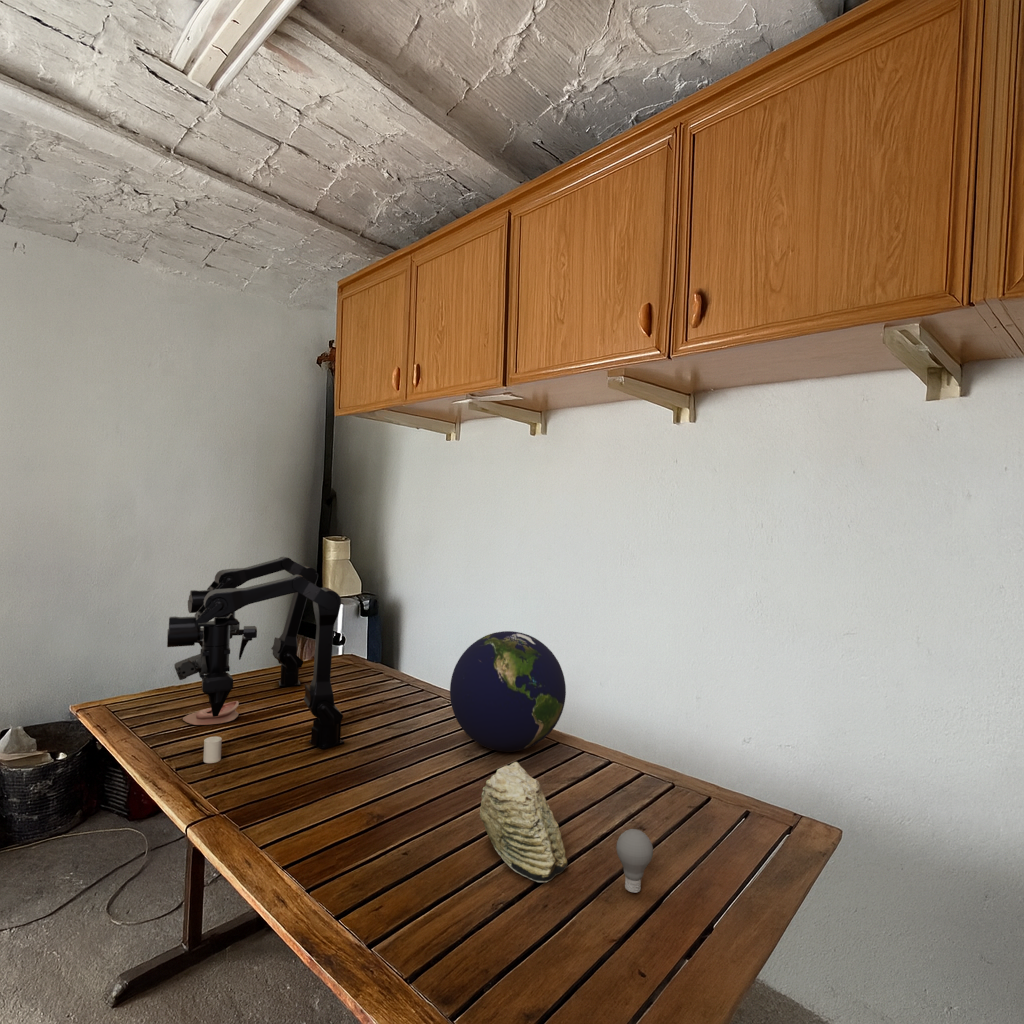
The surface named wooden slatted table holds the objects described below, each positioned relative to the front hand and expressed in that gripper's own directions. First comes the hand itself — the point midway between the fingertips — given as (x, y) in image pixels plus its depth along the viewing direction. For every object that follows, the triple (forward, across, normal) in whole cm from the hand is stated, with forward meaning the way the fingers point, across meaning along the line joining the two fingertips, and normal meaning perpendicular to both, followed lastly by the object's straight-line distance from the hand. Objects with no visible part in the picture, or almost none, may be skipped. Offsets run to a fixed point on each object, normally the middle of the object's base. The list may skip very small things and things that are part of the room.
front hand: (213, 709), depth 149 cm
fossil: (+12, +66, +46) cm, 81 cm away
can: (+12, 0, 0) cm, 12 cm away
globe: (+12, +21, +68) cm, 72 cm away
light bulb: (+12, +82, +58) cm, 102 cm away
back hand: (+1, -52, +6) cm, 52 cm away
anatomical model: (+12, -29, +2) cm, 32 cm away
